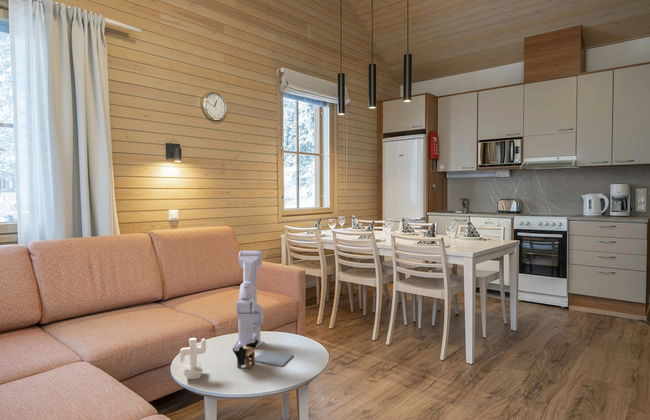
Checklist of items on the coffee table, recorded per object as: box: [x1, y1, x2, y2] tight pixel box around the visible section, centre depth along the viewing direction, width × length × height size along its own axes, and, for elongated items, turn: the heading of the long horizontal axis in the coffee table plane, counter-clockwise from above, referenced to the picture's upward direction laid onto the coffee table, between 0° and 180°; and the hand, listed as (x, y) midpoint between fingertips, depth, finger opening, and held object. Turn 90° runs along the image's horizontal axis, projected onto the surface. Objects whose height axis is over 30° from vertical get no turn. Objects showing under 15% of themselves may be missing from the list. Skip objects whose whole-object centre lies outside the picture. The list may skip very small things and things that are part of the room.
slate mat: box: [255, 349, 295, 368], centre depth 176 cm, size 14×11×1 cm
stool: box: [236, 346, 256, 370], centre depth 169 cm, size 5×5×7 cm
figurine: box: [179, 337, 207, 380], centre depth 160 cm, size 7×9×15 cm
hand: (246, 361), depth 169 cm, fingers open, 6 cm apart
